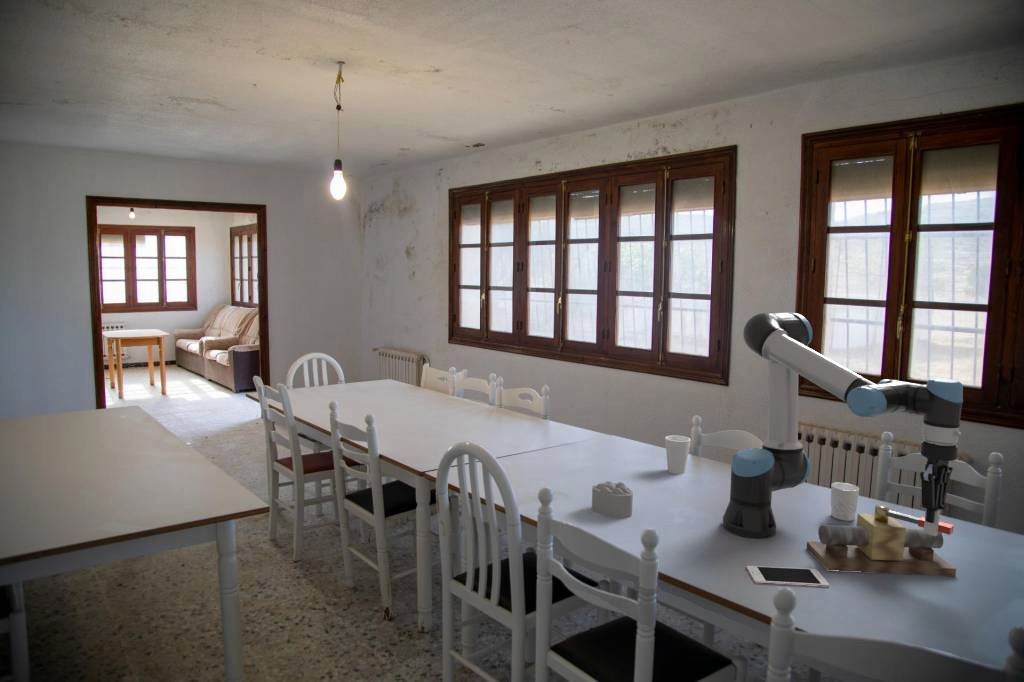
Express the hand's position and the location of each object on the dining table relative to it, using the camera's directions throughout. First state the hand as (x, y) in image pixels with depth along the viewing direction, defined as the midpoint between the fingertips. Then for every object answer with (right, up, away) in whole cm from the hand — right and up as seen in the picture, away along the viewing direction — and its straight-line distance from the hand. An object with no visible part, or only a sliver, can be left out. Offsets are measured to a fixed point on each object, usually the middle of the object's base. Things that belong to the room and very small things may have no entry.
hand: (930, 533), depth 163 cm
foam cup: (-42, -2, +87) cm, 97 cm away
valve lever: (-2, 0, +5) cm, 5 cm away
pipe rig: (-7, -11, +12) cm, 17 cm away
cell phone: (-35, -12, +2) cm, 37 cm away
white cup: (0, -8, +43) cm, 44 cm away
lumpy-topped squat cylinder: (-72, -6, +46) cm, 86 cm away
